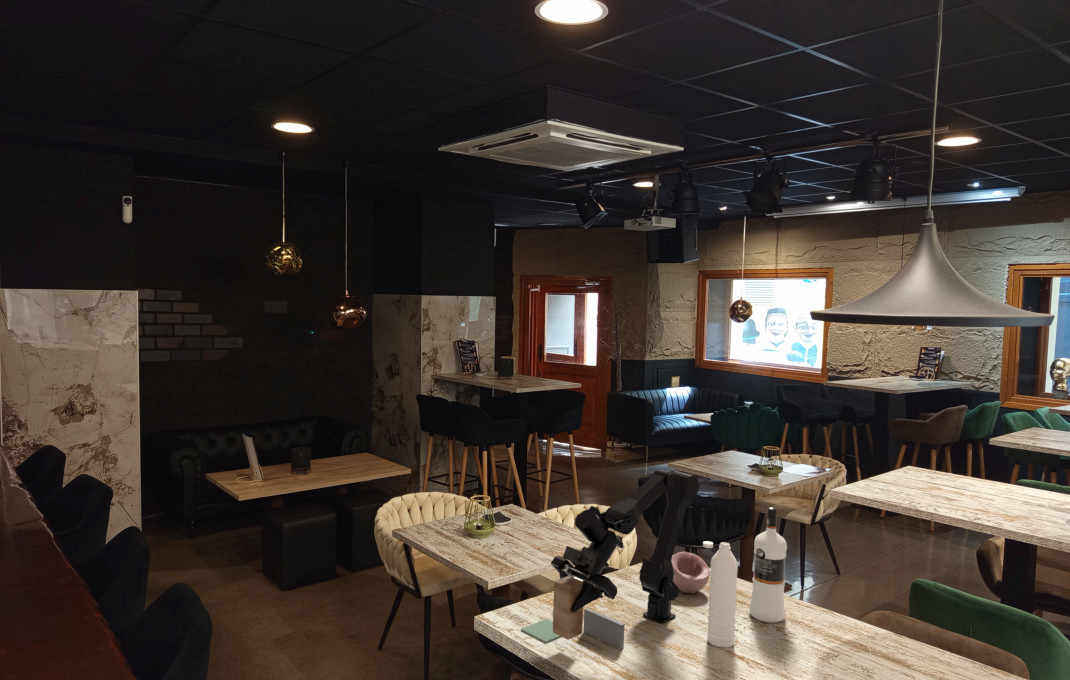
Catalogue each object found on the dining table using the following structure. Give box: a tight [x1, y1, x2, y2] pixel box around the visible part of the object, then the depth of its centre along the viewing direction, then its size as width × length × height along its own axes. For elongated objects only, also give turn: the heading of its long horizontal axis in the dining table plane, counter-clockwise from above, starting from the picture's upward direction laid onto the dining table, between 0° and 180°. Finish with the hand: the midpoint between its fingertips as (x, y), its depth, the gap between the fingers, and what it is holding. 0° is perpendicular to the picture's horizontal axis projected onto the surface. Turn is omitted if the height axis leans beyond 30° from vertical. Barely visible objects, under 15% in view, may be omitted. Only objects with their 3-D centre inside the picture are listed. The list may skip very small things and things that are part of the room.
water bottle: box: [702, 540, 739, 648], centre depth 176 cm, size 9×6×25 cm
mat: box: [520, 618, 562, 643], centre depth 179 cm, size 9×9×1 cm
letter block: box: [552, 576, 584, 640], centre depth 169 cm, size 5×5×12 cm
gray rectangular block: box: [582, 607, 626, 650], centre depth 176 cm, size 1×12×6 cm, turn 44°
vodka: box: [748, 506, 788, 624], centre depth 192 cm, size 9×9×30 cm
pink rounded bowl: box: [671, 551, 711, 594], centre depth 208 cm, size 12×12×11 cm
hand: (564, 607), depth 168 cm, fingers closed on letter block, 5 cm apart
